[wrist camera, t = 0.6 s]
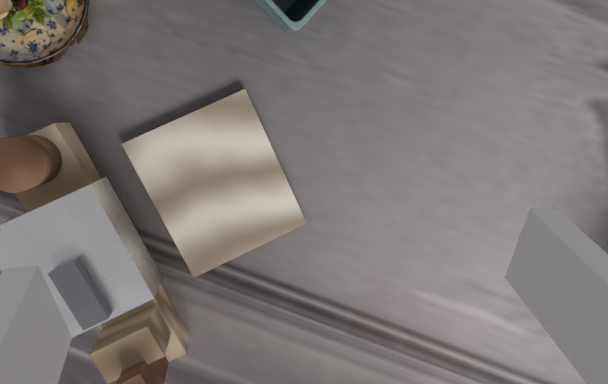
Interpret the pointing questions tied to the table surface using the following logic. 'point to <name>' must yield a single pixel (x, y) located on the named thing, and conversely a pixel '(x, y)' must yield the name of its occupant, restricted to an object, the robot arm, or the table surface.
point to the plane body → (130, 325)
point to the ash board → (216, 182)
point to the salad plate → (39, 30)
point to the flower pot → (290, 12)
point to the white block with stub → (84, 255)
